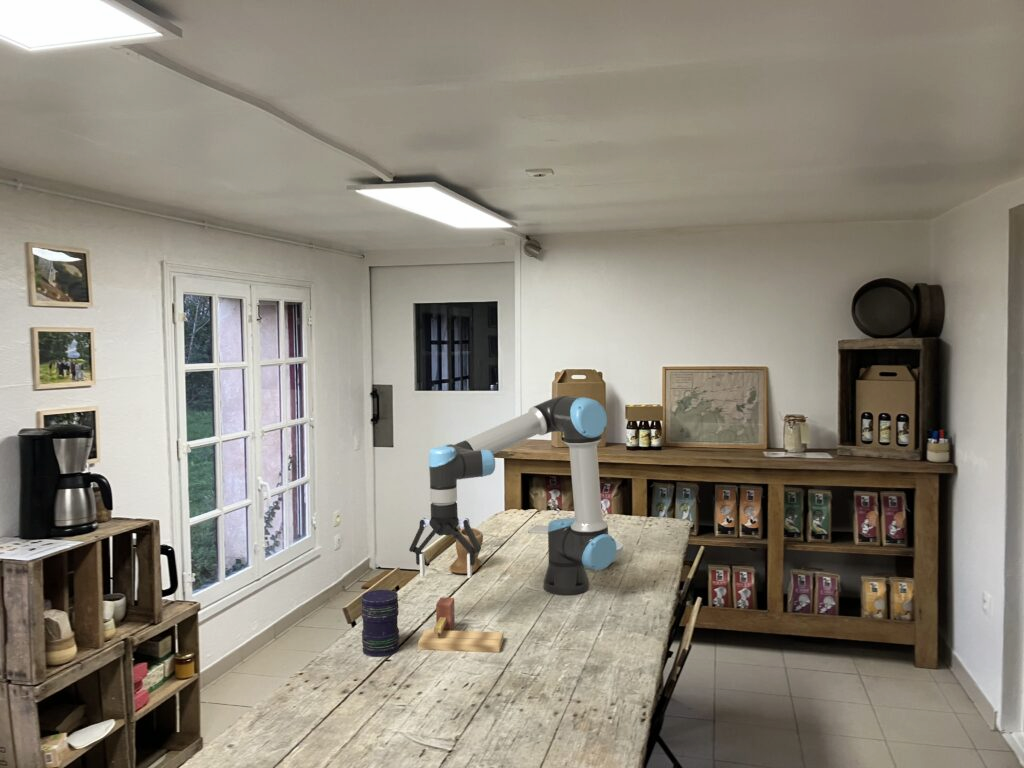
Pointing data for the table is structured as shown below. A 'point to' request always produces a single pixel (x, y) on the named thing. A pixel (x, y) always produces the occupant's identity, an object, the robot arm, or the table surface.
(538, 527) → the baseboard
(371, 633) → the storage jar
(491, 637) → the board
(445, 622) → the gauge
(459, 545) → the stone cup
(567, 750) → the table surface
